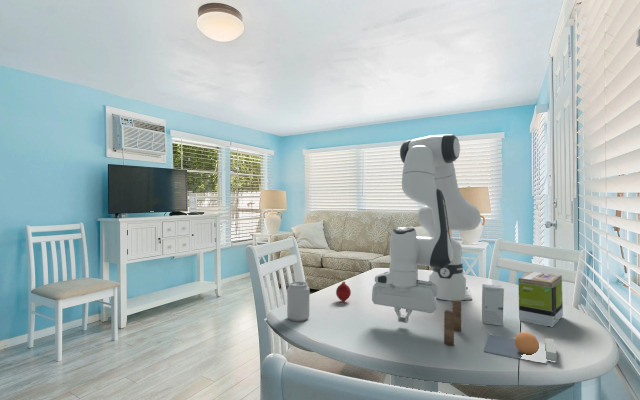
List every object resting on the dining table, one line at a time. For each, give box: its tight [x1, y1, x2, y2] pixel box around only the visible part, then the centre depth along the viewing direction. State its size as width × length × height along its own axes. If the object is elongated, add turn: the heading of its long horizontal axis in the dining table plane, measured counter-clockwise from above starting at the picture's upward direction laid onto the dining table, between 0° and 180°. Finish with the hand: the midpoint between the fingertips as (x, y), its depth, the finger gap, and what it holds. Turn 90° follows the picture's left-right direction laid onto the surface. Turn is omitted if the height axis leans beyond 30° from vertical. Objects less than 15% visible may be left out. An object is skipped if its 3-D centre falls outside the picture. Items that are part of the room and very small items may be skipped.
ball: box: [514, 331, 540, 355], centre depth 92 cm, size 6×6×6 cm
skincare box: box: [481, 283, 505, 327], centre depth 115 cm, size 6×4×12 cm
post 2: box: [451, 300, 462, 332], centre depth 109 cm, size 3×3×9 cm
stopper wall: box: [544, 337, 557, 362], centre depth 91 cm, size 10×2×2 cm, turn 149°
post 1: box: [443, 309, 455, 347], centre depth 98 cm, size 3×3×9 cm
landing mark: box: [483, 333, 523, 359], centre depth 95 cm, size 14×14×1 cm
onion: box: [335, 280, 352, 303], centre depth 139 cm, size 6×6×8 cm
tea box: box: [518, 271, 564, 328], centre depth 120 cm, size 15×10×15 cm, turn 134°
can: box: [286, 281, 311, 322], centre depth 119 cm, size 8×8×12 cm
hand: (403, 322), depth 111 cm, fingers closed
